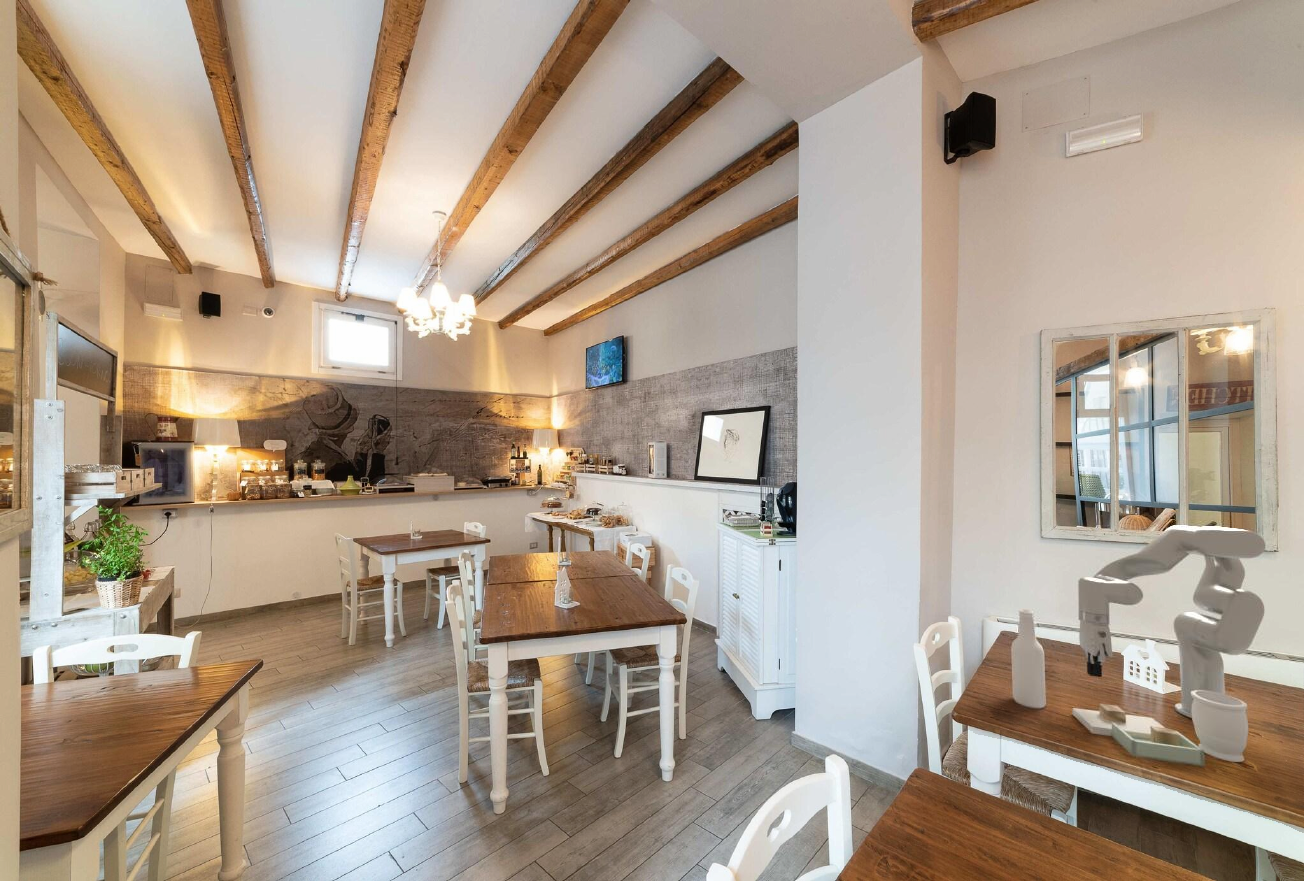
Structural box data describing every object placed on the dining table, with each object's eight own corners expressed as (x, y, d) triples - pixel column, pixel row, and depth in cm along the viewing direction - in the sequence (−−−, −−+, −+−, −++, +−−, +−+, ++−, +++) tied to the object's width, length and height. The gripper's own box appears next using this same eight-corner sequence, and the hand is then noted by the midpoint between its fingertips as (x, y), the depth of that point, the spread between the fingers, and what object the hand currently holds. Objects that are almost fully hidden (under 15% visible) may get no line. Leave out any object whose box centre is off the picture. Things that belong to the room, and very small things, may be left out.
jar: (1258, 770, 132) (1255, 710, 132) (1201, 757, 137) (1198, 700, 138) (1239, 750, 141) (1236, 695, 141) (1187, 739, 146) (1184, 686, 147)
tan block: (1117, 715, 156) (1117, 705, 156) (1126, 722, 152) (1125, 712, 152) (1099, 713, 157) (1099, 703, 157) (1107, 720, 153) (1107, 710, 153)
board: (1152, 724, 155) (1151, 717, 155) (1178, 745, 143) (1178, 737, 143) (1072, 714, 161) (1072, 708, 161) (1092, 733, 149) (1092, 726, 149)
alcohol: (1047, 702, 169) (1044, 610, 170) (1044, 712, 162) (1041, 616, 164) (1015, 694, 175) (1012, 605, 176) (1010, 703, 168) (1008, 611, 170)
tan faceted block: (1171, 729, 142) (1177, 734, 139) (1171, 745, 142) (1178, 751, 139) (1150, 726, 144) (1156, 731, 141) (1151, 742, 144) (1157, 747, 141)
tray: (1177, 745, 143) (1177, 731, 143) (1204, 766, 133) (1204, 750, 133) (1112, 736, 147) (1111, 722, 148) (1133, 756, 138) (1132, 741, 138)
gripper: (1121, 625, 156) (1122, 686, 155) (1095, 612, 170) (1096, 668, 169) (1091, 622, 158) (1092, 682, 157) (1068, 610, 172) (1069, 665, 171)
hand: (1094, 675), depth 163 cm, fingers closed
